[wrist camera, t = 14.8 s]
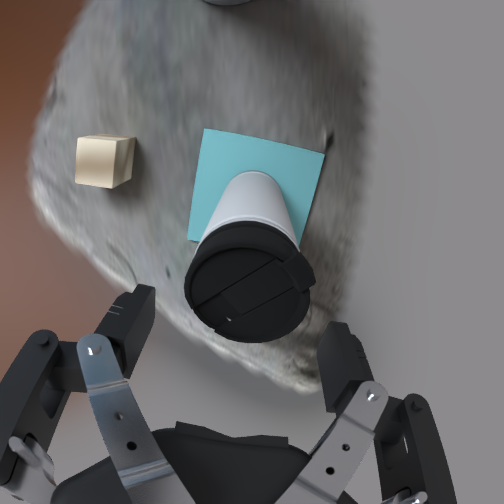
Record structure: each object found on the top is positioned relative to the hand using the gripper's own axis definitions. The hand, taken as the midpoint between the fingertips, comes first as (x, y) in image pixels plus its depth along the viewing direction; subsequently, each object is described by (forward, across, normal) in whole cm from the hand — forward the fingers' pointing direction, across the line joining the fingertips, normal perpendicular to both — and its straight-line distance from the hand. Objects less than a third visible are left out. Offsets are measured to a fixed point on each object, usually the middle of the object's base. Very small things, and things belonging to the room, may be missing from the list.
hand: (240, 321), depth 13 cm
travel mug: (+21, 0, 0) cm, 21 cm away
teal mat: (+21, 0, 0) cm, 21 cm away
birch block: (+22, +17, -2) cm, 28 cm away
